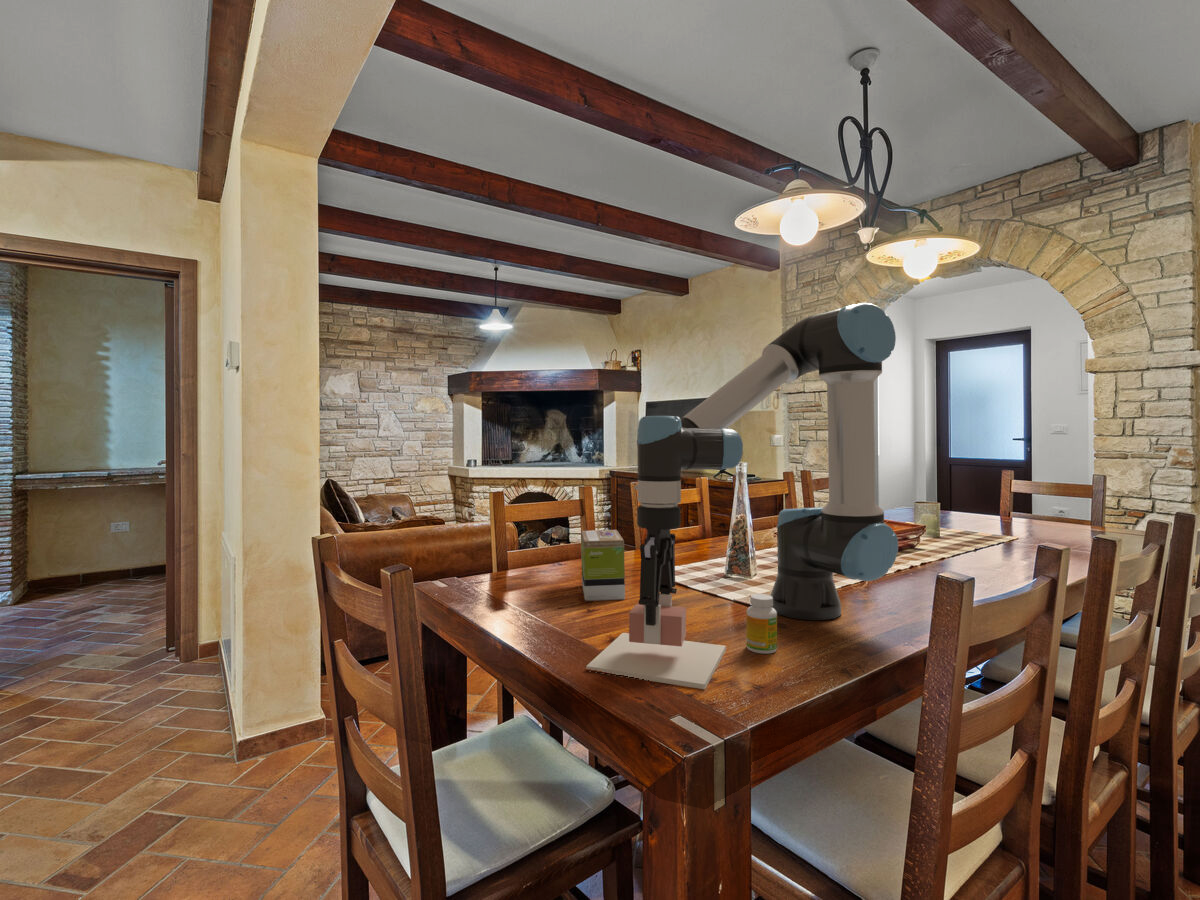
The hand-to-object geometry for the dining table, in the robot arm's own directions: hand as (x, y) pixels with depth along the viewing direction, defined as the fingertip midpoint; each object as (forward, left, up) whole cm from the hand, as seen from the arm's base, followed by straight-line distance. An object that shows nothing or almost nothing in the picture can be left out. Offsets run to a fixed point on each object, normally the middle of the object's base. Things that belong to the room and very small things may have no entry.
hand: (658, 636), depth 104 cm
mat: (0, 0, -4) cm, 4 cm away
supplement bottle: (-16, -12, -4) cm, 21 cm away
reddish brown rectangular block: (0, 0, 0) cm, 0 cm away
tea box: (+26, -38, -5) cm, 46 cm away
